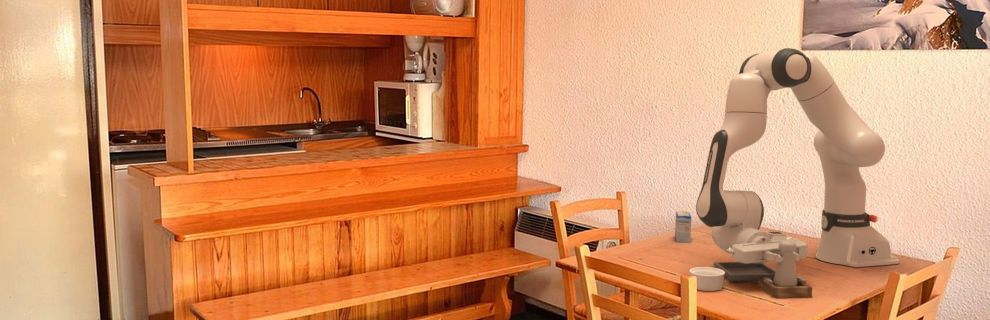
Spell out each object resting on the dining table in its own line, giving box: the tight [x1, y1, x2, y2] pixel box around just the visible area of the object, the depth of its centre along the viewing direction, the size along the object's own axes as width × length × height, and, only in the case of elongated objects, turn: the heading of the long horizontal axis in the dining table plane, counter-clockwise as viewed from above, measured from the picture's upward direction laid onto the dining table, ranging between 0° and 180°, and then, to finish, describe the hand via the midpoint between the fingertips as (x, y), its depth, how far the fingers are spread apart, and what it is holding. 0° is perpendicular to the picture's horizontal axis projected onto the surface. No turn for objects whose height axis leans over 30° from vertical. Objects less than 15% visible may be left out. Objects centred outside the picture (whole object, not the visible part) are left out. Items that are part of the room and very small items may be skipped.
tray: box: [713, 261, 776, 284], centre depth 235 cm, size 14×14×2 cm
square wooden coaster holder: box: [757, 276, 813, 299], centre depth 219 cm, size 10×10×3 cm
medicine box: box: [674, 210, 692, 244], centre depth 277 cm, size 8×4×9 cm, turn 172°
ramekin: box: [689, 266, 725, 292], centre depth 224 cm, size 9×9×4 cm
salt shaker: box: [773, 240, 797, 287], centre depth 219 cm, size 6×6×13 cm
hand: (789, 258), depth 218 cm, fingers closed on salt shaker, 3 cm apart
